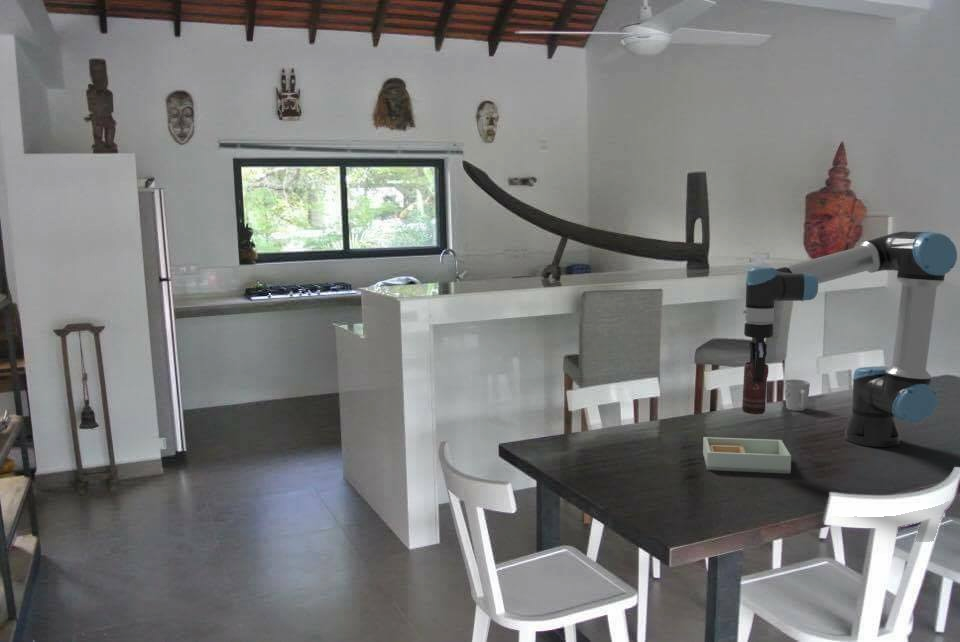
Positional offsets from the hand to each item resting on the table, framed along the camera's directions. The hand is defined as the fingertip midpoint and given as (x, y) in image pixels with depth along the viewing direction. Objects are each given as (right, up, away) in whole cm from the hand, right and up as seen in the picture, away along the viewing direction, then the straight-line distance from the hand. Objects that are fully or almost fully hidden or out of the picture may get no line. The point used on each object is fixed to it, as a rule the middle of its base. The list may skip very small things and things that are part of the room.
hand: (755, 404), depth 211 cm
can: (0, -2, 0) cm, 2 cm away
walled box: (-2, -17, +3) cm, 17 cm away
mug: (+37, -9, +58) cm, 69 cm away
